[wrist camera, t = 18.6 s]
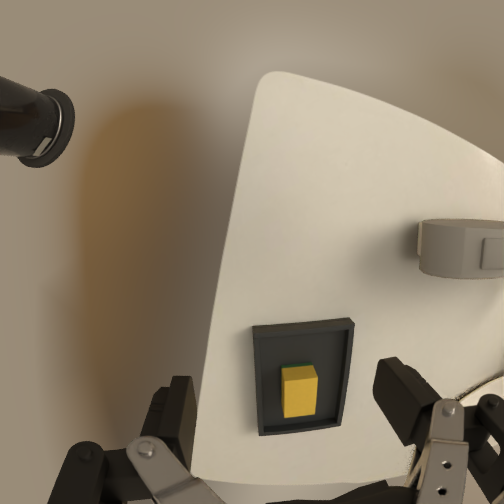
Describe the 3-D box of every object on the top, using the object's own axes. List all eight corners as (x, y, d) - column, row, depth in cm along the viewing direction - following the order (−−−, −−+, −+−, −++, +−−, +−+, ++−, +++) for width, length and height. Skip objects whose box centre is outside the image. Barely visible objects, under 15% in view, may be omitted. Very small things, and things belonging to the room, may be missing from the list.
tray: (337, 417, 44) (340, 425, 41) (258, 427, 43) (258, 436, 41) (349, 317, 40) (354, 323, 37) (252, 325, 39) (253, 333, 37)
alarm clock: (398, 261, 38) (452, 289, 26) (400, 217, 37) (458, 230, 24) (497, 254, 39) (547, 271, 27) (500, 219, 38) (552, 230, 25)
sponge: (309, 398, 42) (314, 414, 38) (280, 401, 41) (284, 418, 37) (311, 361, 40) (318, 377, 36) (280, 365, 40) (284, 381, 36)
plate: (429, 409, 45) (435, 417, 42) (507, 362, 45) (514, 367, 42) (416, 469, 50) (420, 476, 47) (487, 428, 50) (491, 433, 47)
